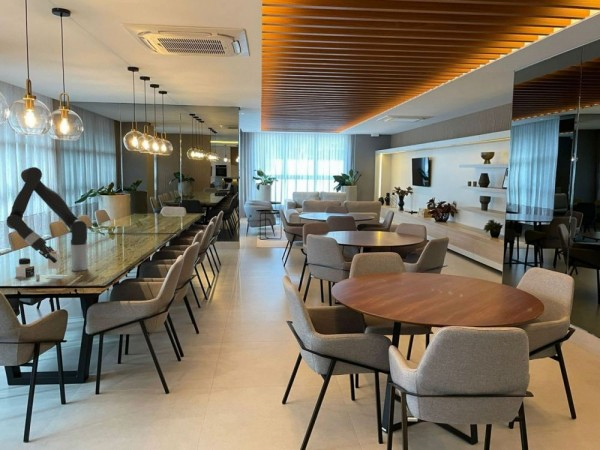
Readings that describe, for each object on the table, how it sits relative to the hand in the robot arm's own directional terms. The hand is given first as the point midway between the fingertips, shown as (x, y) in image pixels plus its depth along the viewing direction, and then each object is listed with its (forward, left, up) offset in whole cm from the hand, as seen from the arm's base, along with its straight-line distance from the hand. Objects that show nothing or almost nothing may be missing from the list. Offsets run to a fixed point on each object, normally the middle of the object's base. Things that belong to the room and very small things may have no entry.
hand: (57, 260), depth 279 cm
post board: (+3, -5, -11) cm, 13 cm away
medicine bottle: (-3, -22, -12) cm, 25 cm away
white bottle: (0, -2, -4) cm, 5 cm away
